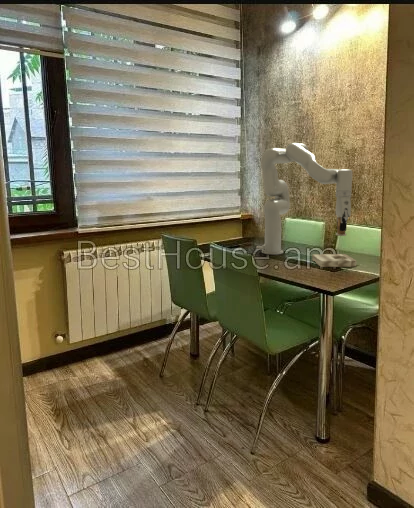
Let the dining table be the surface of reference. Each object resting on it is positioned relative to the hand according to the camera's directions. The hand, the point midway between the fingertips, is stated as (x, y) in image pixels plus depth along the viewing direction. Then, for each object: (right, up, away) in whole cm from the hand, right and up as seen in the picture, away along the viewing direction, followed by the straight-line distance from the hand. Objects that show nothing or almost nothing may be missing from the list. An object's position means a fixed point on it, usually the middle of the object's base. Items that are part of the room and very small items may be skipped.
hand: (341, 229), depth 211 cm
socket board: (-3, -17, +4) cm, 18 cm away
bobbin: (0, -3, +1) cm, 3 cm away
